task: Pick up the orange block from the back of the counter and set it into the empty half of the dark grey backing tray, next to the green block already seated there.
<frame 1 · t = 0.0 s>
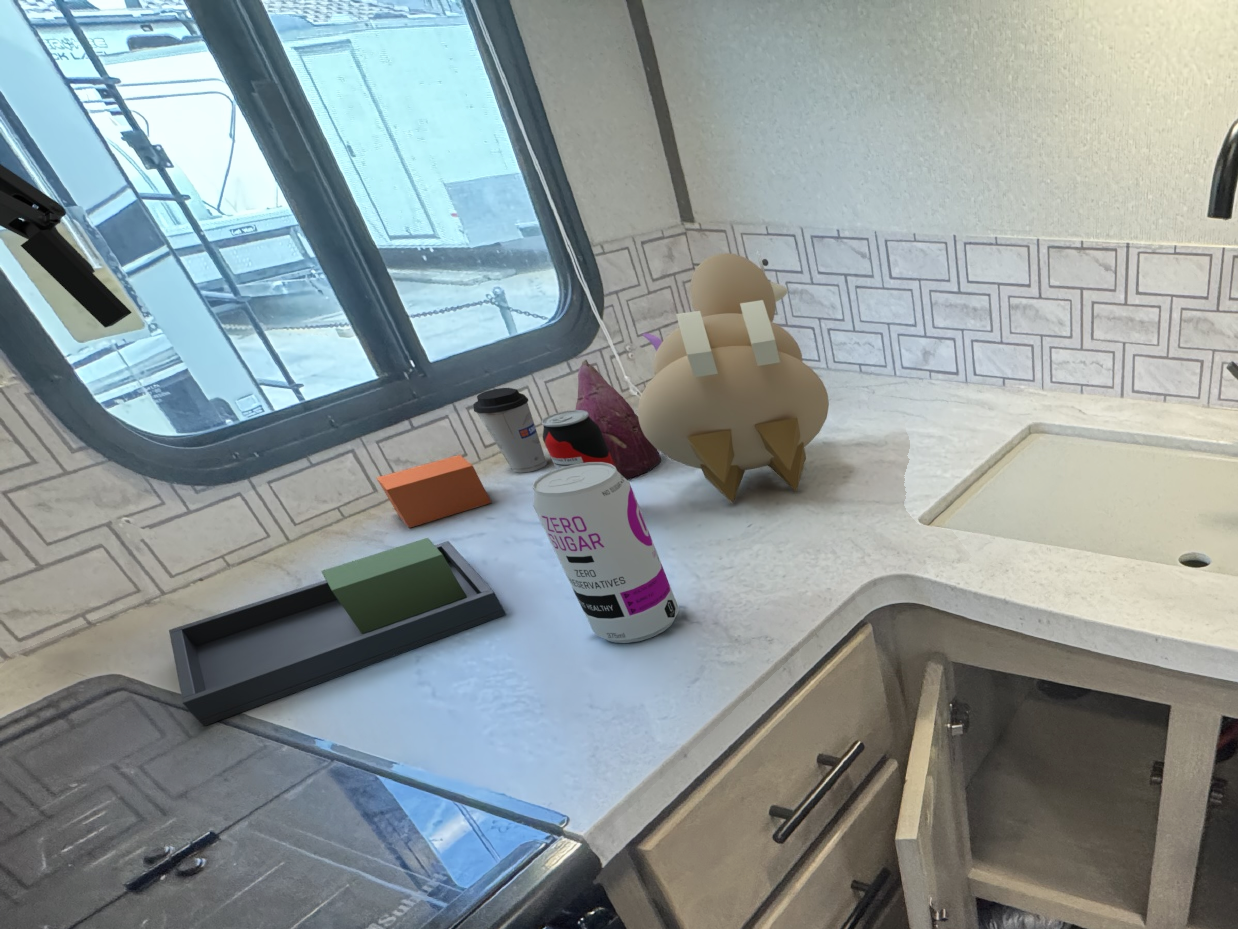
hand: (46, 342, 67), 28 cm above the worktop, tool tilted 20°, fingers open, 13 cm apart
orange block: (445, 509, 110), on the worktop
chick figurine: (757, 485, 110), on the worktop
supplement can: (639, 626, 84), on the worktop
green block: (409, 605, 88), resting on backing tray
backing tray: (348, 633, 86), on the worktop
coffee cup: (530, 467, 120), on the worktop
vegetable: (623, 469, 117), on the worktop
teapot: (724, 417, 132), on the worktop
beverage can: (607, 517, 105), on the worktop
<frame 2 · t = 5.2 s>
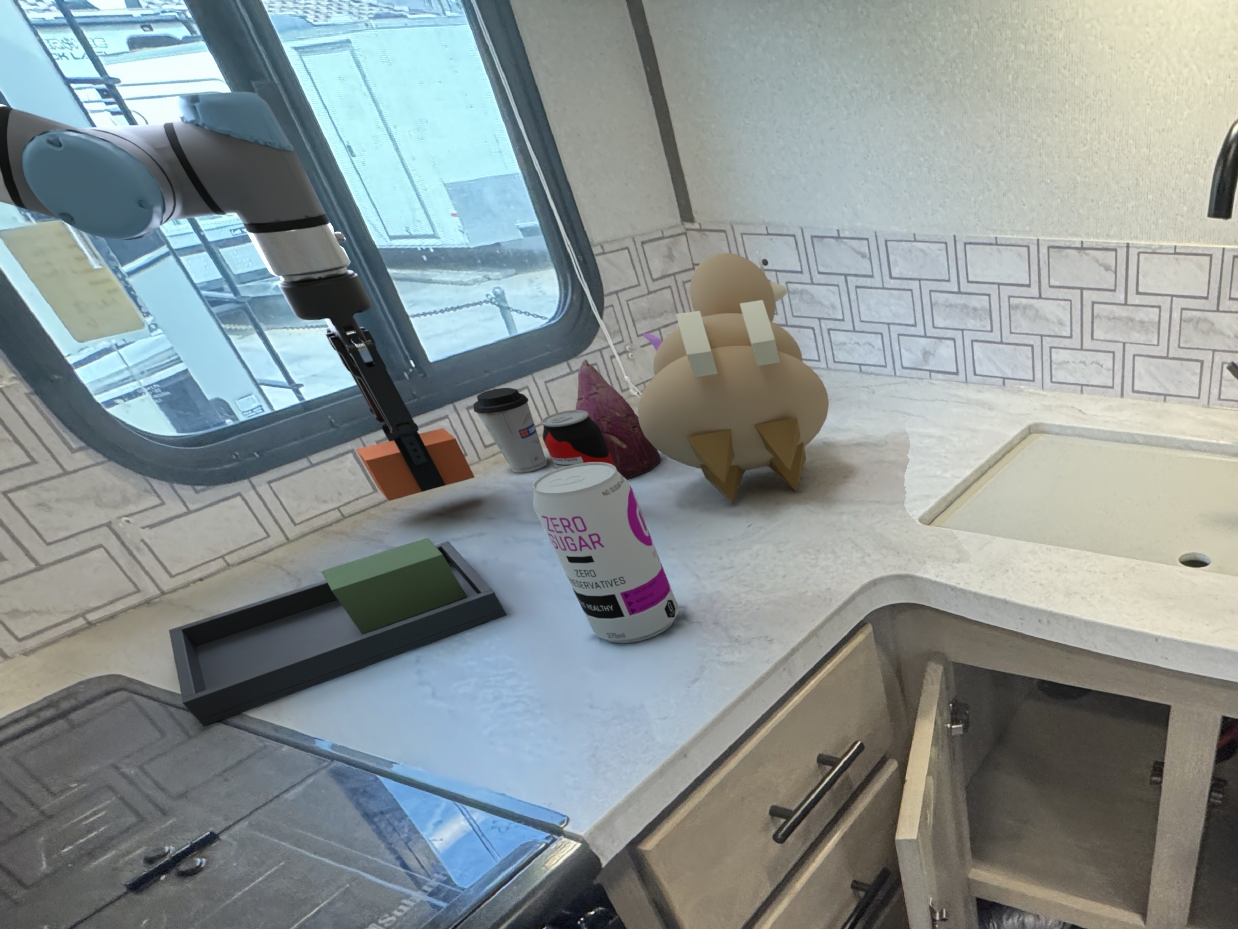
hand: (426, 480, 107), 4 cm above the worktop, tool pointing down, fingers closed on orange block, 6 cm apart
orange block: (427, 483, 107), point 4 cm above the worktop, touching gripper
everything else where it was.
when the fingers open (1 cm above the worktop, at t = 10.3 s): orange block stays where it is, resting on backing tray.
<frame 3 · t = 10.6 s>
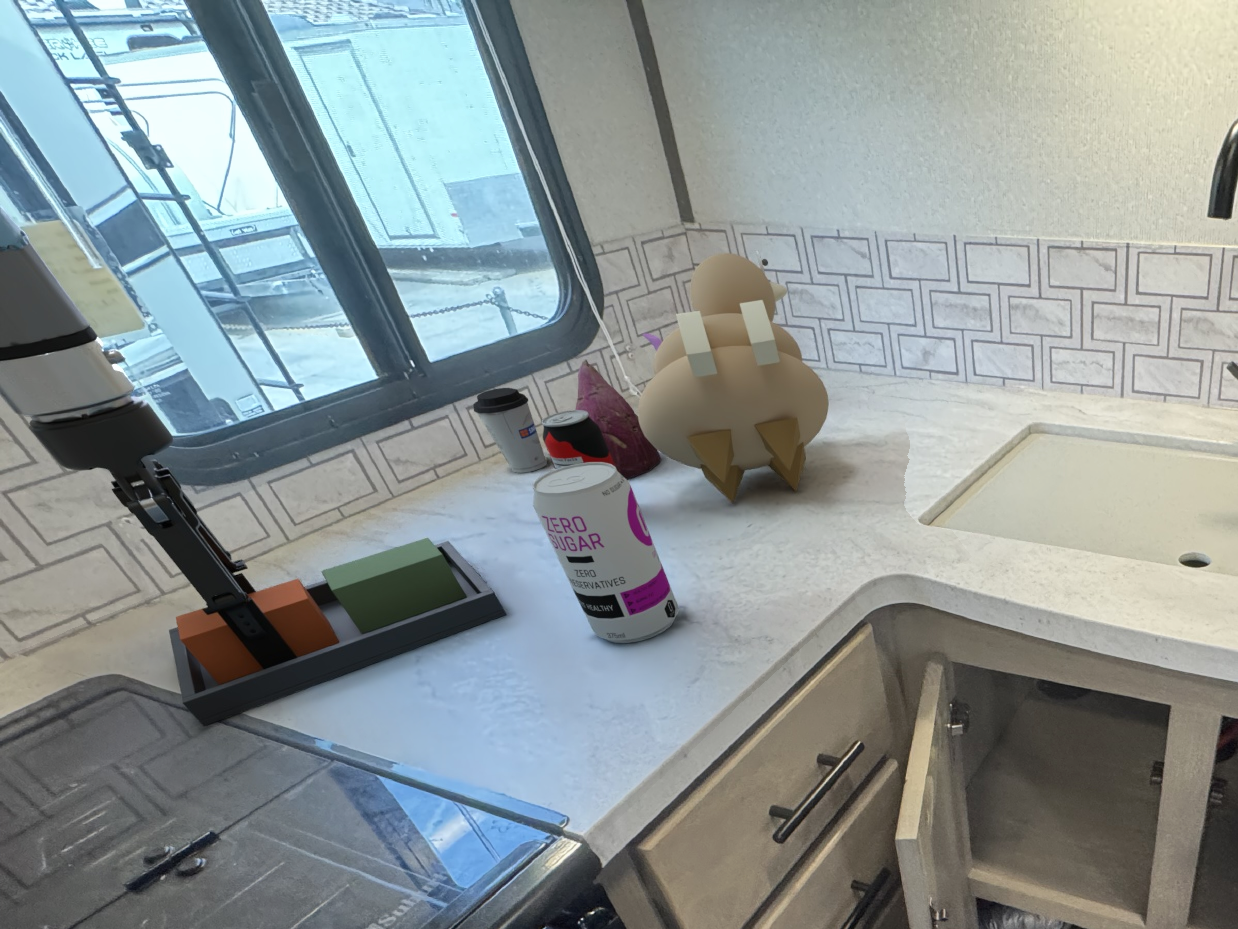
hand: (275, 650, 82), 1 cm above the worktop, tool pointing down, fingers open, 6 cm apart
orange block: (277, 652, 82), point 1 cm above the worktop, touching backing tray
everything else where it was.
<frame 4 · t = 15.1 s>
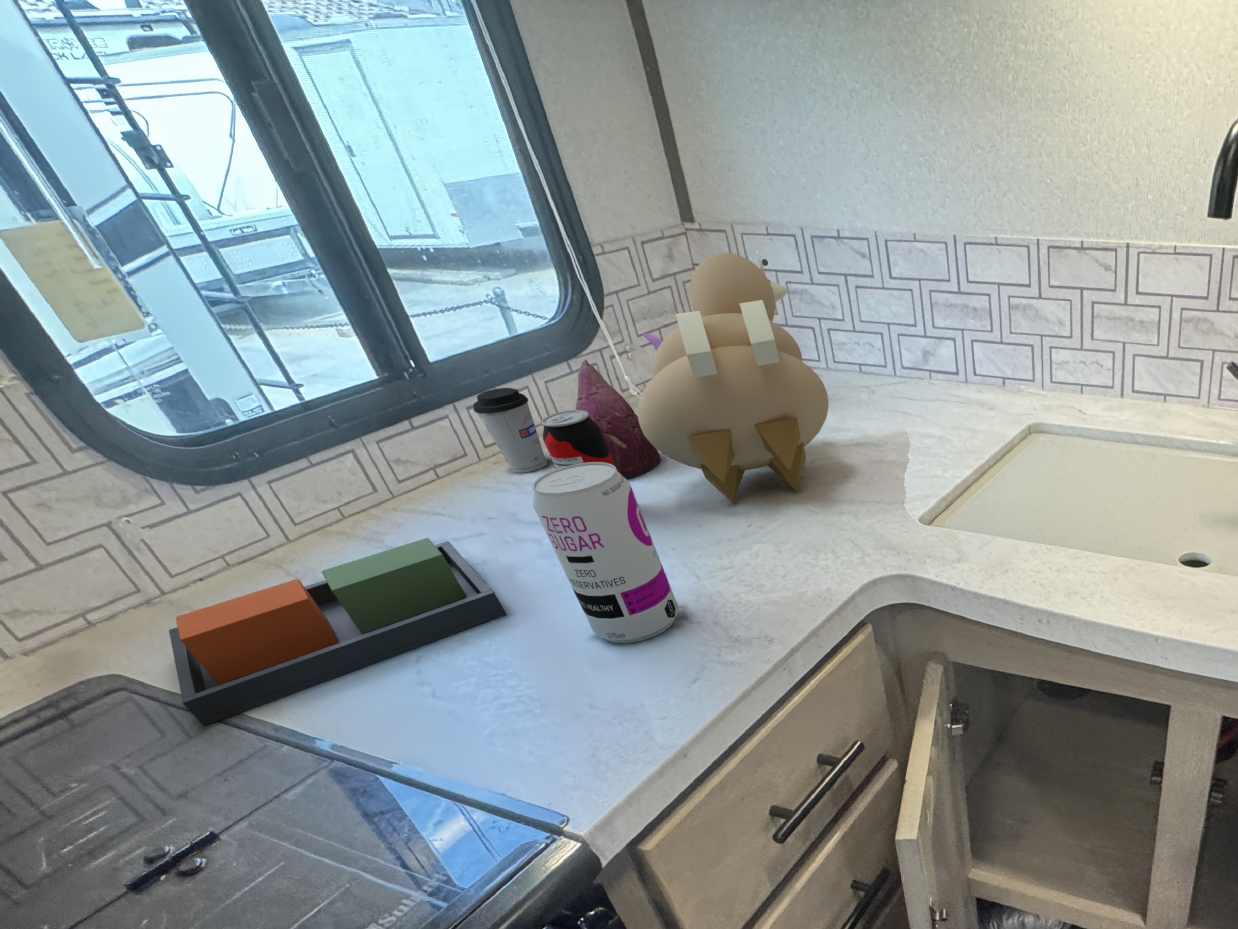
nothing on the worktop moved.
at the end: orange block 0.1 cm from the target spot in the backing tray, point 0.6 cm above the backing tray's base; orange block tilted 0° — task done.
